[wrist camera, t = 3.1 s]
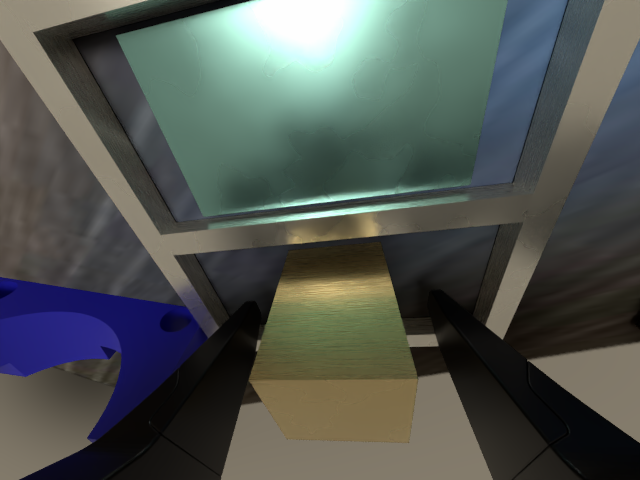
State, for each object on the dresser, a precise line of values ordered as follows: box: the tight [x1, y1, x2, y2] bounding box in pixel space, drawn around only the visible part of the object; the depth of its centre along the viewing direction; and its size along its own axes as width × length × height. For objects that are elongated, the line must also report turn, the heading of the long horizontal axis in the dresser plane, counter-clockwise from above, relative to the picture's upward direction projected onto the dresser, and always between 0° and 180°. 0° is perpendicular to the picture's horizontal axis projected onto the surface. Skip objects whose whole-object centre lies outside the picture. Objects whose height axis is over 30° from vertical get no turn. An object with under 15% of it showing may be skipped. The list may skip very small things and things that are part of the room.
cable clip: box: [0, 277, 208, 443], centre depth 12 cm, size 12×4×6 cm, turn 81°
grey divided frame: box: [0, 0, 640, 351], centre depth 9 cm, size 15×15×1 cm
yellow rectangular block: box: [249, 242, 418, 443], centre depth 9 cm, size 4×4×6 cm
